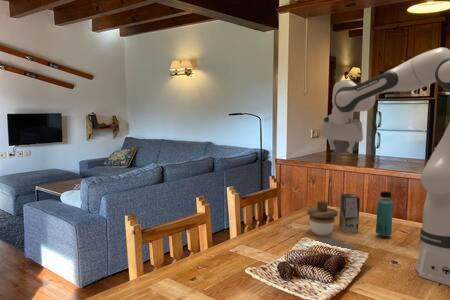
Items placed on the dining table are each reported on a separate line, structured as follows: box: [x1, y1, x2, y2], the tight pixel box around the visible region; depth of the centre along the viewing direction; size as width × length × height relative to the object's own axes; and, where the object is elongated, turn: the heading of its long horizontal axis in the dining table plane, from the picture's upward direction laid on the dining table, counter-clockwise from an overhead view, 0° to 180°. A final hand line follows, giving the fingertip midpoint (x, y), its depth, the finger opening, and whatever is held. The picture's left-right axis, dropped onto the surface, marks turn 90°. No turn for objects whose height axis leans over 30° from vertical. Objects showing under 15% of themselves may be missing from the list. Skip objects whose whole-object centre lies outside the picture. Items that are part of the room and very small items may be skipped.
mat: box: [306, 236, 359, 251], centre depth 153 cm, size 16×16×1 cm
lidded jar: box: [308, 215, 335, 237], centre depth 168 cm, size 11×11×9 cm
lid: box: [306, 200, 339, 218], centre depth 167 cm, size 13×13×5 cm
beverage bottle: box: [375, 190, 394, 237], centre depth 165 cm, size 6×7×20 cm
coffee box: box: [338, 193, 361, 234], centre depth 174 cm, size 9×6×16 cm
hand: (340, 150), depth 165 cm, fingers open, 8 cm apart
